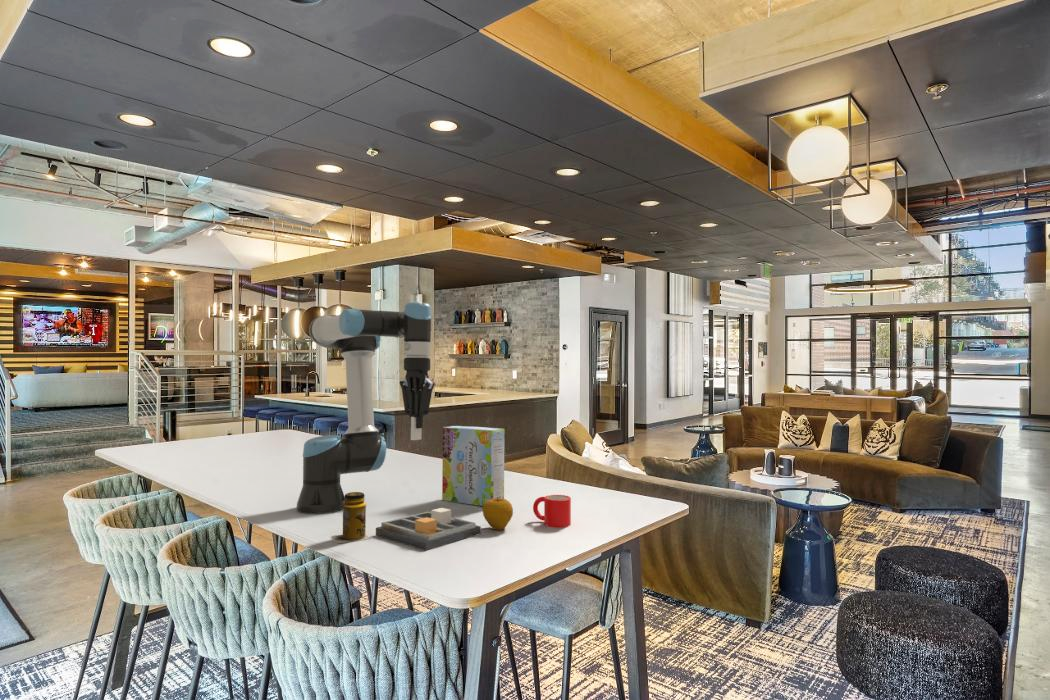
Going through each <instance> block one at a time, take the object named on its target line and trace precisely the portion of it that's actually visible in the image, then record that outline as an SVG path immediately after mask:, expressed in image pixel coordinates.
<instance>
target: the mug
mask: <svg viewBox="0 0 1050 700" xmlns="http://www.w3.org/2000/svg"><path fill="white" fill-rule="evenodd" d="M571 500H572V499H571V497H570V496H569V495H564V494H563V495H562V494H550V495H545V496H540V497H538V498H536V499H535V501H534V502H533V505H532V510H533V514H534V516H535V517H536V518H537V519H539V520H540V521H543V522H544V526H546V527H549V528H555V529H556V528H557V529H558V528H568V527H570V526H571V522H572V519H571V518H572V517H571V516H572V515H571V513H572V511H571V510H572V509H571V508H572V507H571V506H572V501H571ZM542 502H543V504H544V511H543V513H544V514H542V513H540V512H539V508H538V507H539V504H540V503H542Z"/></svg>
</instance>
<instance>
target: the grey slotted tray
mask: <svg viewBox="0 0 1050 700" xmlns="http://www.w3.org/2000/svg"><path fill="white" fill-rule="evenodd" d="M426 517H428V518H431V511H423V512H421V513H417V514H416V513H415V514H412V515H411V514H410V515H407V516H404V517H400V518H396V519H395V518H394V519H390V520H387V521H383V522H381V524H380V525H381V526H378V527H375V536H377V537H381V538H384V539H388V540H390V541H393V542H396V543H400V544H404V545H407V546H410V547H413V548H416V549H418V550H422V551H429V550H432V549H435V548H438V547H443V546H445V545H448V544H451V543H454V542H455V543H456V542H458V541H463V540H465V539H467V538H472V537H475V536H479V535H481V532H482V531H481V526H480V525H477V524H476V522H473V521H469V520H464V519H461V518H457V517H456V518H455V517H452V516H451V522H450V523H446V524H445V523H441V522H437V533H434V534H430V535H429V534H425V533H422V532H418V531H415V520H418V519H422V518H426Z"/></svg>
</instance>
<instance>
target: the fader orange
mask: <svg viewBox="0 0 1050 700" xmlns="http://www.w3.org/2000/svg"><path fill="white" fill-rule="evenodd" d="M415 531H418V532H422V533H425V534H429V535H430V534H434V533H437V520H436V519H432V518H428V517H426V518H422V519H418V520H415Z"/></svg>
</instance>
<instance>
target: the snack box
mask: <svg viewBox="0 0 1050 700" xmlns="http://www.w3.org/2000/svg"><path fill="white" fill-rule="evenodd" d="M505 430H506V429H505V428H498V427H486V426H485V427H484V426H465V425H464V426H463V425H451V426H443V427H442V474H441V475H442V480H441V481H442V482H441V483H442V485H441V487H442V492H441V494H442V495H441V499H442V501H444V502H453V503H458V504H459V503H460V504H464V505H465V504H467V505H473V506H481V507H483V506H484V504H485V503H486V502H487V501H488V500H490V499H493V498H501V499H505V433H506V431H505Z"/></svg>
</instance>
